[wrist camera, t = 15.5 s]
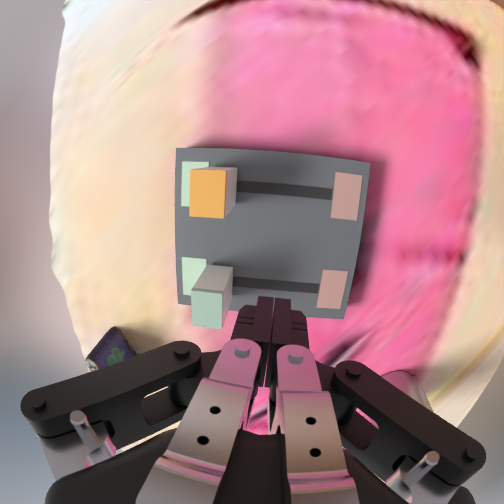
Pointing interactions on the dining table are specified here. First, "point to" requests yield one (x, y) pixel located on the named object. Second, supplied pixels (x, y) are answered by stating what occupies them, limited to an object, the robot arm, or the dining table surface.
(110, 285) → the dining table surface
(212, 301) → the block
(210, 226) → the dual slider panel
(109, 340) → the flask
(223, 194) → the block
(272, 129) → the dining table surface
